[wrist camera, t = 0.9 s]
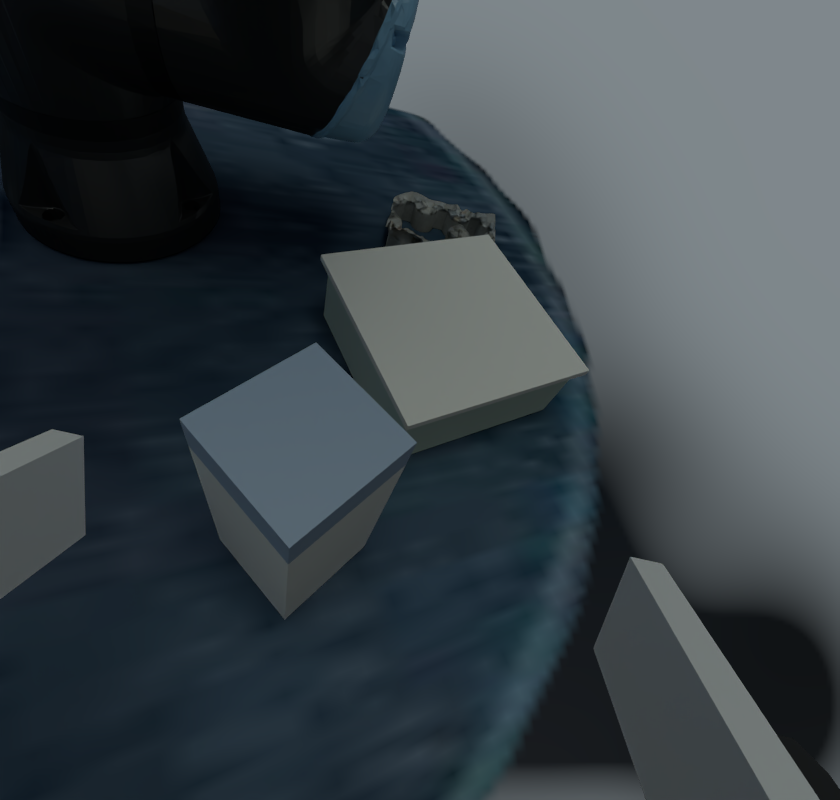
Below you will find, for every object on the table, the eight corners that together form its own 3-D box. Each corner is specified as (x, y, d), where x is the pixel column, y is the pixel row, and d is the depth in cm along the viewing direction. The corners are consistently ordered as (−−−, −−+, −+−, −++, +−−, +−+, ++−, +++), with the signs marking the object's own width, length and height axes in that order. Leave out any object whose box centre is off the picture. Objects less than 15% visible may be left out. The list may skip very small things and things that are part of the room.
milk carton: (220, 539, 28) (179, 419, 16) (302, 478, 31) (316, 342, 20) (284, 619, 26) (289, 548, 15) (363, 546, 29) (417, 442, 18)
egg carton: (377, 261, 45) (385, 224, 41) (389, 214, 49) (397, 178, 46) (484, 290, 46) (499, 257, 43) (486, 242, 50) (501, 209, 47)
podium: (315, 311, 39) (321, 254, 34) (466, 285, 45) (488, 234, 40) (388, 468, 33) (407, 426, 28) (550, 412, 39) (589, 370, 34)
